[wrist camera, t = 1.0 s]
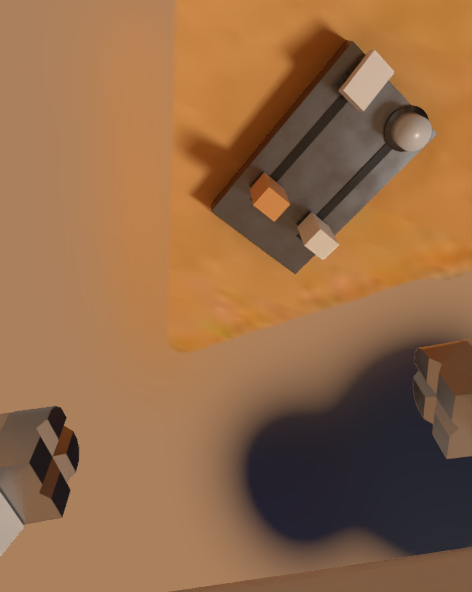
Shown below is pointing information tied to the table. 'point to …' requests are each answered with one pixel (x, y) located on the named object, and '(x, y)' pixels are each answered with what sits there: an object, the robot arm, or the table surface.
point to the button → (411, 131)
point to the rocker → (366, 80)
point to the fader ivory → (317, 236)
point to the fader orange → (269, 197)
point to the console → (319, 162)
